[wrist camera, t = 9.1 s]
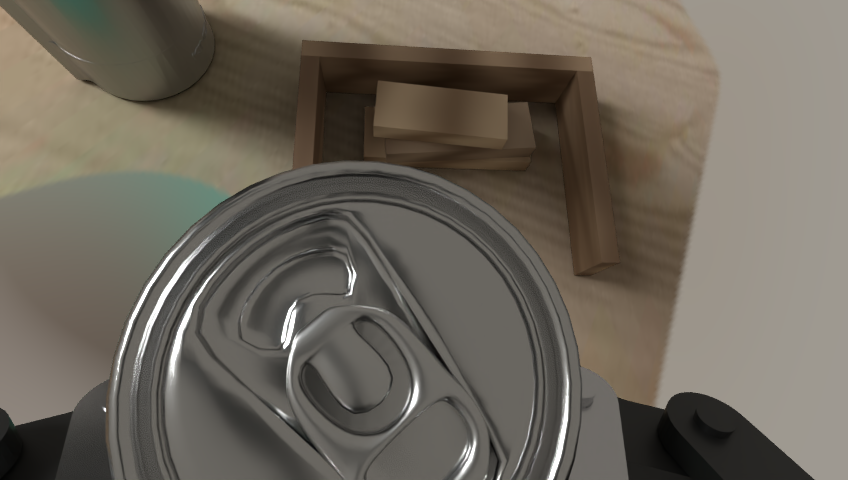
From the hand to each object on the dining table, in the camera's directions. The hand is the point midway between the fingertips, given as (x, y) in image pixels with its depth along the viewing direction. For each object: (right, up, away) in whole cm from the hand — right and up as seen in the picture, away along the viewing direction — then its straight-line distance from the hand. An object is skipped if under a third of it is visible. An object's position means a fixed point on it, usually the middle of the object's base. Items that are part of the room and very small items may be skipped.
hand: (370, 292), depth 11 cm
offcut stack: (+3, +9, +22) cm, 24 cm away
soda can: (0, -3, +5) cm, 6 cm away
